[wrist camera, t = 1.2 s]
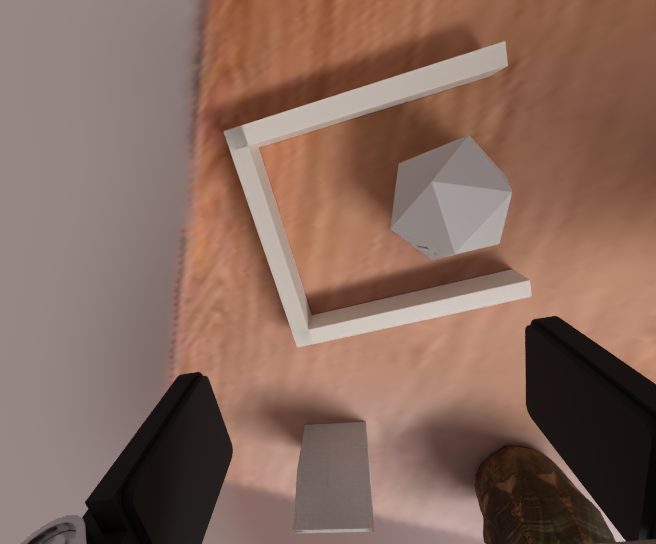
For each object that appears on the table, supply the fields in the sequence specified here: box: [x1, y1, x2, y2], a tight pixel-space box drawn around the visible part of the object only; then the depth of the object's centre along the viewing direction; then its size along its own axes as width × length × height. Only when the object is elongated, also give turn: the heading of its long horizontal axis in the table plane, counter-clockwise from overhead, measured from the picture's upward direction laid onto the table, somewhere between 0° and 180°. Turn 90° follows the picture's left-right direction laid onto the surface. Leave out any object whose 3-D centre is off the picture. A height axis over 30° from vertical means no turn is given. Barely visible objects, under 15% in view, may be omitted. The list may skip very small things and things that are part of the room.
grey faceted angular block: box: [293, 422, 374, 533], centre depth 32 cm, size 4×7×10 cm, turn 97°
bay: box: [223, 41, 532, 348], centre depth 28 cm, size 20×19×3 cm
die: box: [390, 135, 512, 260], centre depth 25 cm, size 8×9×10 cm
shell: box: [475, 446, 616, 544], centre depth 32 cm, size 11×11×12 cm
